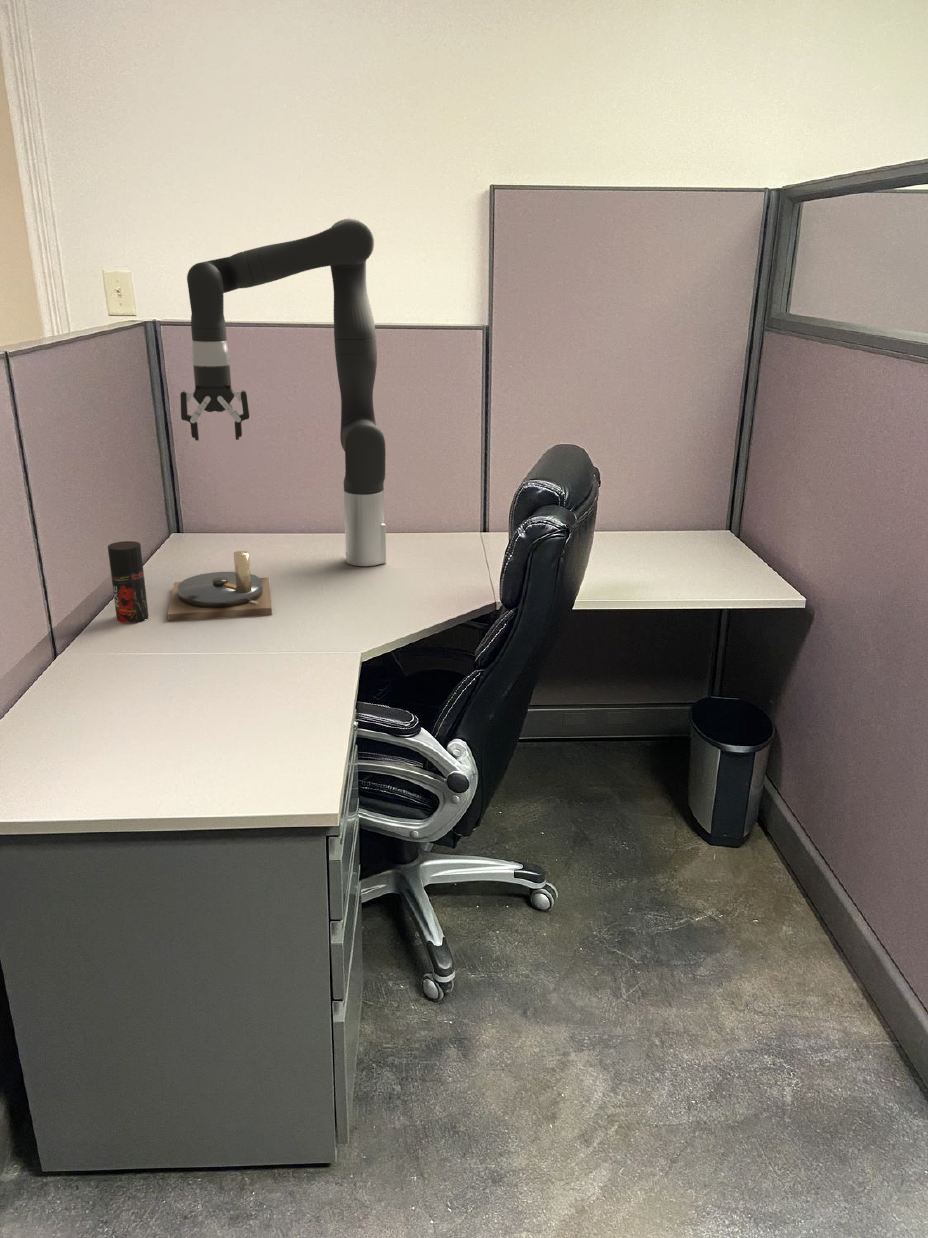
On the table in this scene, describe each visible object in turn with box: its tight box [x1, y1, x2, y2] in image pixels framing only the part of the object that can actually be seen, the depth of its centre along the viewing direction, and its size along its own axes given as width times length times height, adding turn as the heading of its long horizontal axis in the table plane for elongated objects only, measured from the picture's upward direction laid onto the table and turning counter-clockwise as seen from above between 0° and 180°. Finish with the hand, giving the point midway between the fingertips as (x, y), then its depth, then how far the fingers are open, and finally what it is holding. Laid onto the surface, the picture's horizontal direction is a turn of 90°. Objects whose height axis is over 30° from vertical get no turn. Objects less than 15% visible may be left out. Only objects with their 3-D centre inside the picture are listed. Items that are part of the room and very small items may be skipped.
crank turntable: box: [178, 550, 263, 607], centre depth 189 cm, size 17×17×10 cm
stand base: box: [167, 576, 273, 622], centre depth 191 cm, size 20×20×2 cm
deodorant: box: [107, 540, 149, 625], centre depth 179 cm, size 6×6×15 cm
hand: (217, 439), depth 200 cm, fingers open, 8 cm apart
